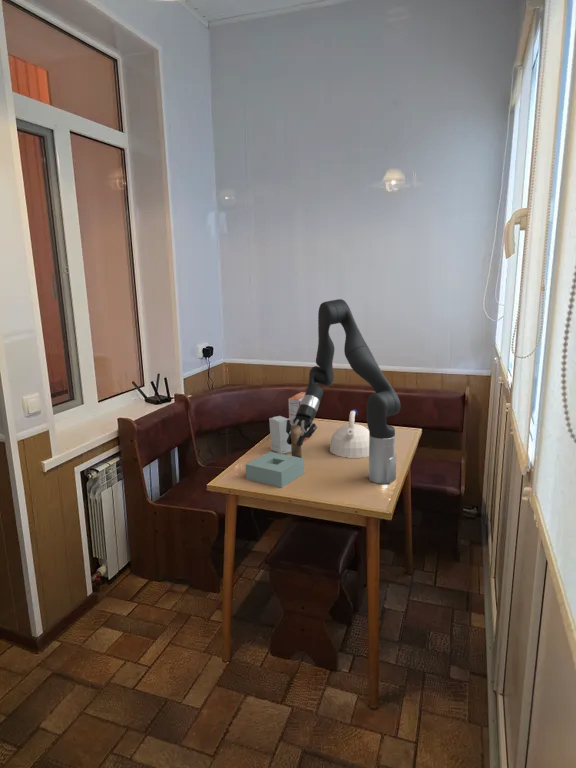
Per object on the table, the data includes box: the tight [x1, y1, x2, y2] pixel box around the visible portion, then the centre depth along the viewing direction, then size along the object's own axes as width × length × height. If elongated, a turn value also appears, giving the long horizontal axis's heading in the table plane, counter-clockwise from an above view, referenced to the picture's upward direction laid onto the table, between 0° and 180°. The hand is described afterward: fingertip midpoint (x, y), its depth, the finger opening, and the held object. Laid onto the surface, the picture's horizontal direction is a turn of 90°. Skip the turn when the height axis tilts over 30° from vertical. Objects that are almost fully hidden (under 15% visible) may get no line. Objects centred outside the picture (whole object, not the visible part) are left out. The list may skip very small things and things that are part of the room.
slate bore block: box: [245, 451, 305, 489], centre depth 196 cm, size 16×16×6 cm
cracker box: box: [288, 391, 310, 441], centre depth 239 cm, size 14×6×21 cm, turn 154°
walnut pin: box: [290, 425, 302, 458], centre depth 207 cm, size 4×4×13 cm
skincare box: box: [268, 415, 291, 455], centre depth 223 cm, size 8×6×15 cm
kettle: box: [329, 409, 369, 459], centre depth 222 cm, size 20×21×18 cm
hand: (293, 444), depth 206 cm, fingers closed on walnut pin, 4 cm apart
